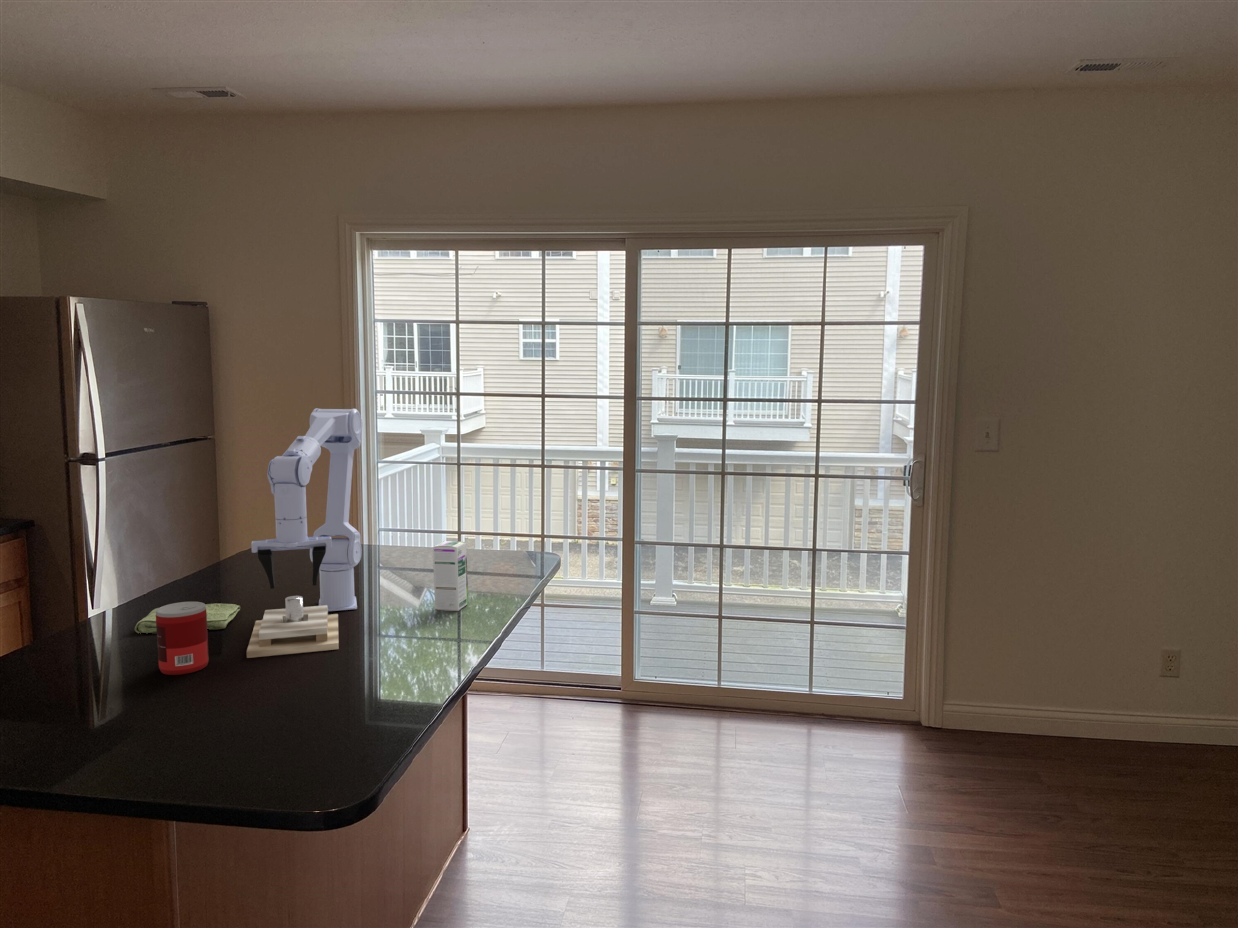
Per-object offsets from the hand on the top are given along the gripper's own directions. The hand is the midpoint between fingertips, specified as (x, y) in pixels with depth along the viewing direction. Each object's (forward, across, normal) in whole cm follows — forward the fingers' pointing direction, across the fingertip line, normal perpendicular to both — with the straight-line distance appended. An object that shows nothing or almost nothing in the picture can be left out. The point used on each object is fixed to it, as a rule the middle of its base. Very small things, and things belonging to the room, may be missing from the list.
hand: (293, 585), depth 165 cm
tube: (+10, 0, 0) cm, 10 cm away
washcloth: (+11, -21, +17) cm, 29 cm away
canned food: (+11, -18, -12) cm, 24 cm away
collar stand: (+10, 0, 0) cm, 10 cm away
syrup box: (+11, +32, +12) cm, 36 cm away
